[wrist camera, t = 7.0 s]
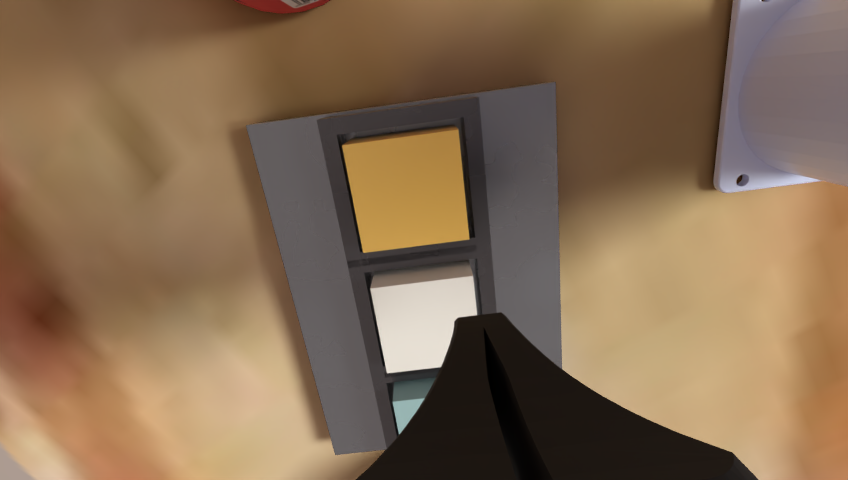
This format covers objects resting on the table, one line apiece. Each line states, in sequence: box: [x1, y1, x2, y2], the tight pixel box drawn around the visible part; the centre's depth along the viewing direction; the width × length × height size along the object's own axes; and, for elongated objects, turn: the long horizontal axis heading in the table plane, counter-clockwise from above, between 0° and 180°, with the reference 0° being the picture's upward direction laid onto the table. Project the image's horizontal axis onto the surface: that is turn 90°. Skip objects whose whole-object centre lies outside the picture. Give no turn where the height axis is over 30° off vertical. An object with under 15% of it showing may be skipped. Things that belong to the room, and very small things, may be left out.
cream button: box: [370, 260, 477, 373], centre depth 18 cm, size 4×4×2 cm
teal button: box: [393, 377, 436, 434], centre depth 20 cm, size 4×4×2 cm
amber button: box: [342, 124, 469, 253], centre depth 16 cm, size 4×4×2 cm
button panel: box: [246, 82, 562, 455], centre depth 19 cm, size 12×17×3 cm
